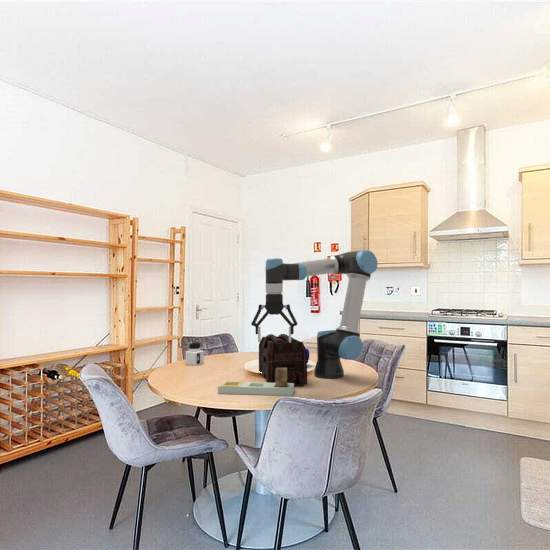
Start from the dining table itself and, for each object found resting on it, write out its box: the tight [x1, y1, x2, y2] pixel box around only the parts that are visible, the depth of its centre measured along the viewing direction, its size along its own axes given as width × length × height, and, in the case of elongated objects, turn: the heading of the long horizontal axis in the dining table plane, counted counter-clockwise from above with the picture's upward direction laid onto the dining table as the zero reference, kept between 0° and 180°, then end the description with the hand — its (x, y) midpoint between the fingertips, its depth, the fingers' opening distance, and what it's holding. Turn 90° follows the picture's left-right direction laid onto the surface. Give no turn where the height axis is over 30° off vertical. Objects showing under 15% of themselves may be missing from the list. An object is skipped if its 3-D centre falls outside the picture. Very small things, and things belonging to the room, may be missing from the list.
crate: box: [258, 333, 308, 388], centre depth 197 cm, size 35×19×21 cm, turn 11°
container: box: [185, 341, 205, 366], centre depth 237 cm, size 8×8×13 cm
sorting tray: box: [217, 380, 295, 397], centre depth 172 cm, size 32×9×3 cm, turn 82°
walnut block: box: [275, 368, 287, 387], centre depth 170 cm, size 4×4×9 cm
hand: (274, 341), depth 174 cm, fingers open, 13 cm apart
